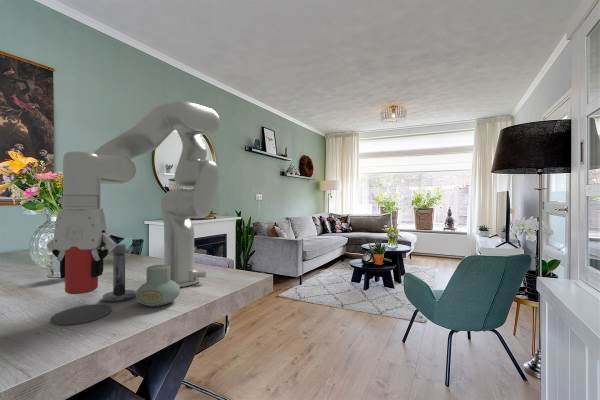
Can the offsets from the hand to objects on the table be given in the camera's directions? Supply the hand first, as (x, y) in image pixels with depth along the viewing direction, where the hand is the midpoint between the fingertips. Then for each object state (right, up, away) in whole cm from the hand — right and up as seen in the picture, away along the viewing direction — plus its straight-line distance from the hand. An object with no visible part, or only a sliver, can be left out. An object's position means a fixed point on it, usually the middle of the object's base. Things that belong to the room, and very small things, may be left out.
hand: (81, 275), depth 75 cm
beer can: (0, -4, 0) cm, 4 cm away
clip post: (+1, -10, +13) cm, 16 cm away
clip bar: (-2, +3, +22) cm, 22 cm away
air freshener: (+15, -10, +9) cm, 20 cm away
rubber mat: (0, -10, 0) cm, 10 cm away
